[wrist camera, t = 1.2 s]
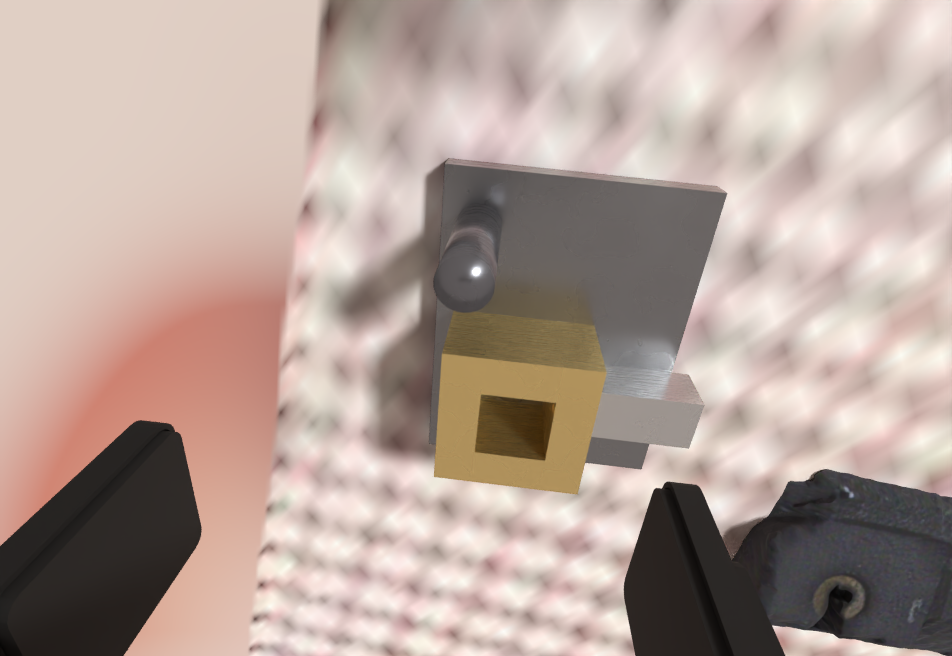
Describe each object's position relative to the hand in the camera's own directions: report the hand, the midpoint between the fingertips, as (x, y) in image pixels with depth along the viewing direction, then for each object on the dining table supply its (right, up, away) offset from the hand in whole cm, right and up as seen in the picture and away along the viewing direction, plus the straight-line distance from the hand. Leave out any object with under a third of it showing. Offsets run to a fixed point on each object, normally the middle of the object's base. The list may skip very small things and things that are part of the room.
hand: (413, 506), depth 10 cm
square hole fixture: (+6, +4, +21) cm, 22 cm away
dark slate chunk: (+32, -14, +29) cm, 45 cm away
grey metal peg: (+1, +9, +17) cm, 19 cm away
